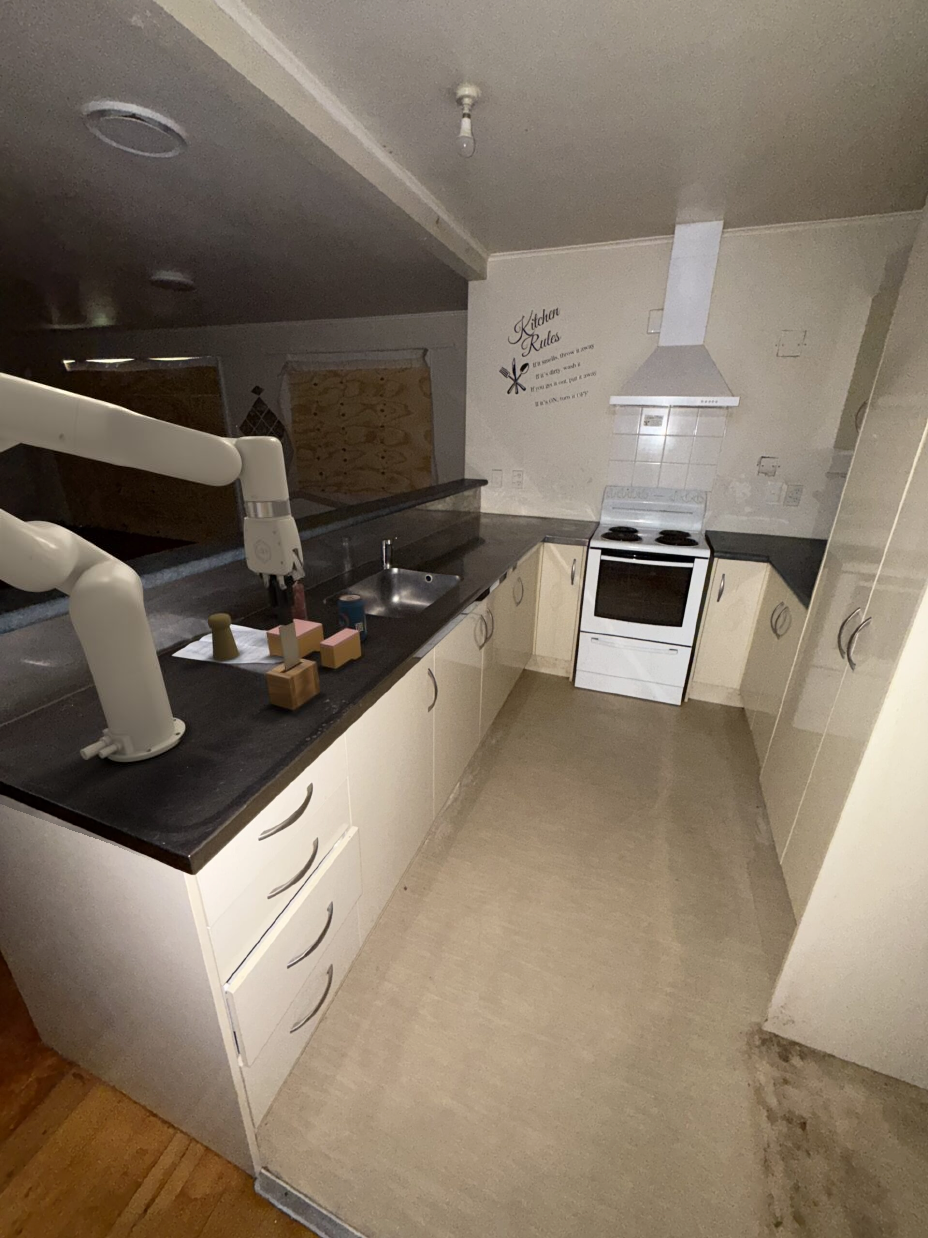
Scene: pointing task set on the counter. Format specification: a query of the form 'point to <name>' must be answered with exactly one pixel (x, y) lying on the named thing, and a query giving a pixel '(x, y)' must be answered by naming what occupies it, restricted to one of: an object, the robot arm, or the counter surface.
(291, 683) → the knife block
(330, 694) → the counter surface
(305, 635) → the cake
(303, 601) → the can
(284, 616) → the knife
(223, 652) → the olive pepper shaker
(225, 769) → the counter surface
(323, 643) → the cake slice
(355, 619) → the soda can
